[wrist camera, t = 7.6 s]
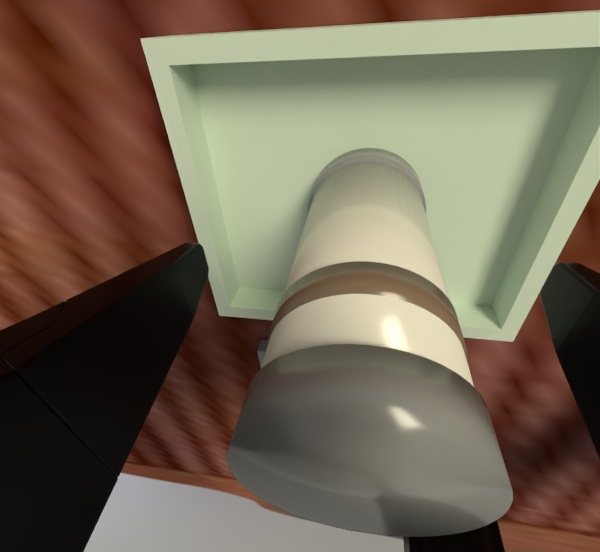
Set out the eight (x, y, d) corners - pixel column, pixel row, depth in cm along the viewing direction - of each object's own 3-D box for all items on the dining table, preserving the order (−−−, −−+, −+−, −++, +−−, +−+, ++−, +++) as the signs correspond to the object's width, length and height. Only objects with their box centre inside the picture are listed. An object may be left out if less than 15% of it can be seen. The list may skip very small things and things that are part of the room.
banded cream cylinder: (432, 147, 10) (572, 446, 3) (412, 250, 12) (466, 551, 5) (309, 147, 11) (197, 397, 4) (312, 246, 13) (247, 511, 6)
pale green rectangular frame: (634, 8, 8) (691, 6, 6) (498, 309, 14) (513, 341, 13) (173, 35, 10) (140, 38, 8) (232, 289, 16) (219, 315, 15)
